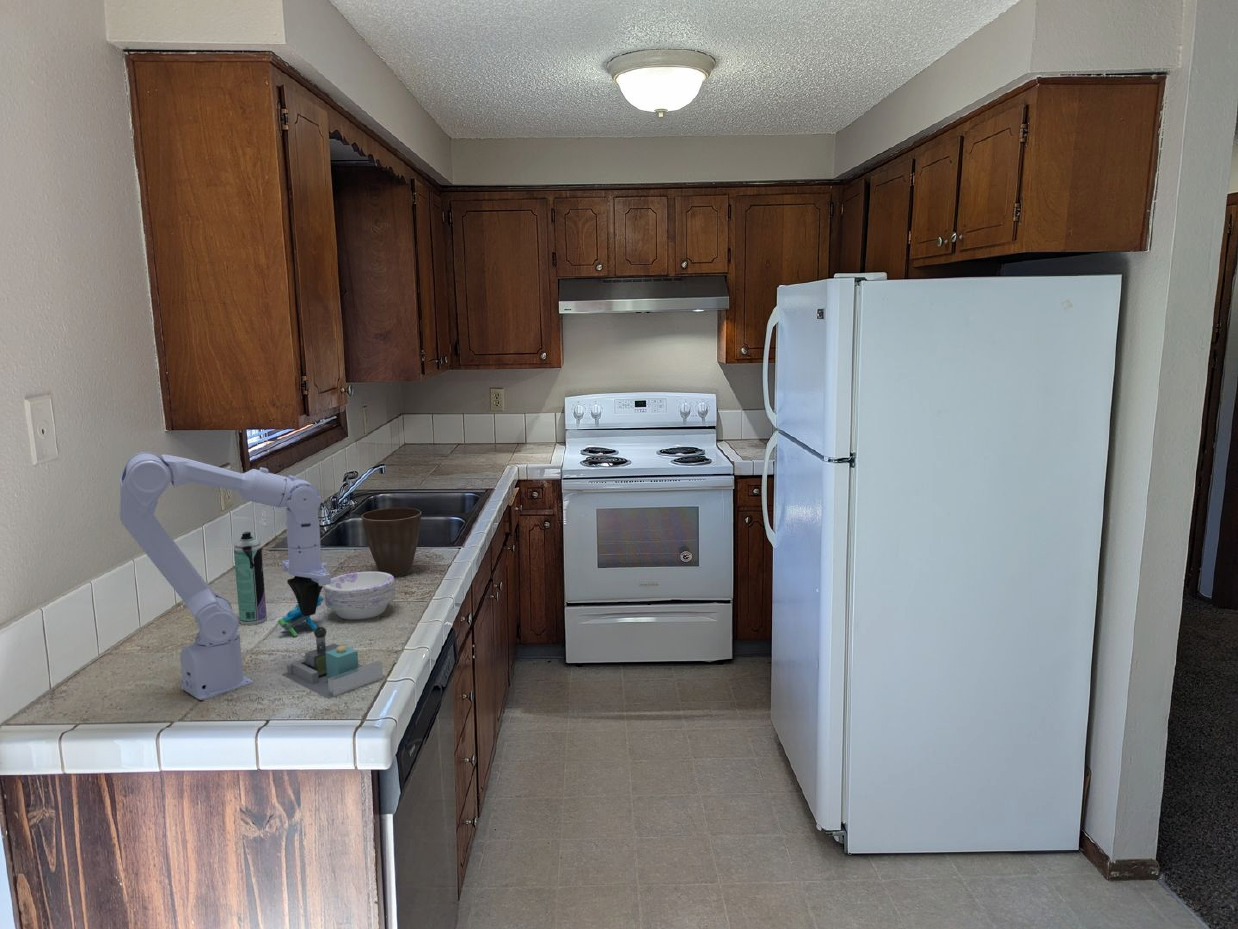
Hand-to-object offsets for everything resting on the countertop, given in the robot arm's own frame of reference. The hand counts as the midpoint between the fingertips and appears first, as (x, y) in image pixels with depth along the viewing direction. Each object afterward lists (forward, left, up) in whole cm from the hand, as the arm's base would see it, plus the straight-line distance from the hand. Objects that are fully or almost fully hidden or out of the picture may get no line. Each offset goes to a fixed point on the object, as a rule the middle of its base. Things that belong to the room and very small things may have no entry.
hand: (308, 614), depth 159 cm
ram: (0, -5, -10) cm, 11 cm away
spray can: (+5, +33, -11) cm, 35 cm away
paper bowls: (+23, +19, -11) cm, 32 cm away
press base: (0, -8, -10) cm, 13 cm away
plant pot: (+46, +39, -11) cm, 61 cm away
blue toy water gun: (+9, +20, -11) cm, 24 cm away
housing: (0, -11, -10) cm, 15 cm away
